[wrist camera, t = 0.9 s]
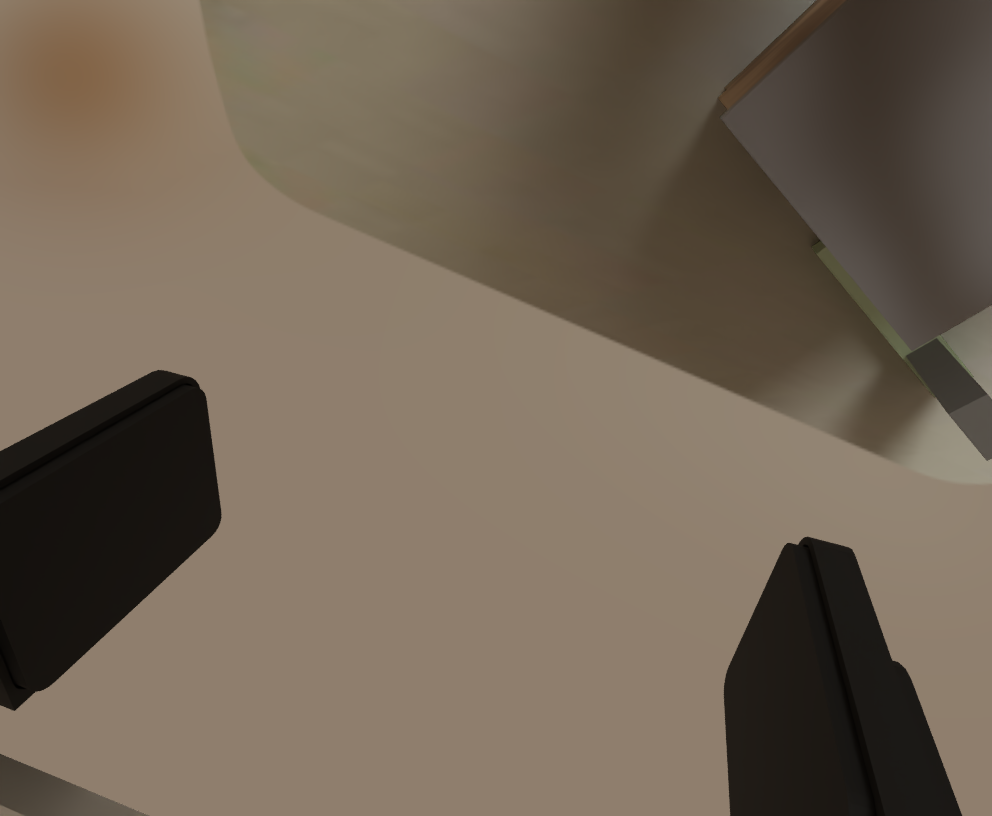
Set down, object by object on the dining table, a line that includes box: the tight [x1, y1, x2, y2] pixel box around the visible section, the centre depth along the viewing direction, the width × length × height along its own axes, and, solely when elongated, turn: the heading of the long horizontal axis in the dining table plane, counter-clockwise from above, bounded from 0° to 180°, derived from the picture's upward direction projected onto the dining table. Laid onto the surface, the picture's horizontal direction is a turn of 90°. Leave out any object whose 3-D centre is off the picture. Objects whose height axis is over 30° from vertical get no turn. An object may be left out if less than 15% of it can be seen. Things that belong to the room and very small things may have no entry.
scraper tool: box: [812, 240, 992, 461], centre depth 30 cm, size 2×10×8 cm, turn 46°
